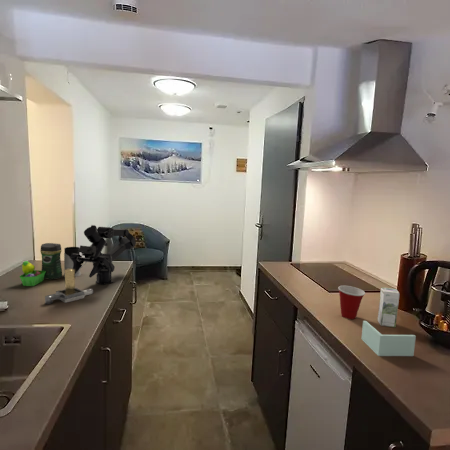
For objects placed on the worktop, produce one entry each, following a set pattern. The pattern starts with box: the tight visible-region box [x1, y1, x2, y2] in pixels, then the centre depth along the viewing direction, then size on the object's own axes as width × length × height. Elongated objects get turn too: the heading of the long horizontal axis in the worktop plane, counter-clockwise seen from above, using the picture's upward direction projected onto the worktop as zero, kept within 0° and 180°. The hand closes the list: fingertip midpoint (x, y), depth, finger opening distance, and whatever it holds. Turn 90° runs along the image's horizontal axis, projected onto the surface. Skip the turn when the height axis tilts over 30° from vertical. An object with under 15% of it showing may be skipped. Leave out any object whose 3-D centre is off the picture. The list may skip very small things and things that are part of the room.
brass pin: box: [64, 268, 76, 295], centre depth 152 cm, size 4×4×13 cm
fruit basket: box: [19, 260, 46, 287], centre depth 171 cm, size 11×9×11 cm
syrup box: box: [377, 287, 400, 328], centre depth 137 cm, size 6×6×14 cm
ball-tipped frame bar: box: [44, 287, 94, 305], centre depth 153 cm, size 21×9×3 cm, turn 141°
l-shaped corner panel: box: [360, 320, 417, 357], centre depth 118 cm, size 12×12×8 cm
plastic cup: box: [337, 284, 366, 320], centre depth 144 cm, size 11×11×12 cm
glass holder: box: [63, 246, 88, 278], centre depth 190 cm, size 9×14×15 cm, turn 135°
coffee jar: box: [40, 242, 63, 280], centre depth 181 cm, size 10×8×19 cm
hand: (81, 275), depth 159 cm, fingers open, 9 cm apart
